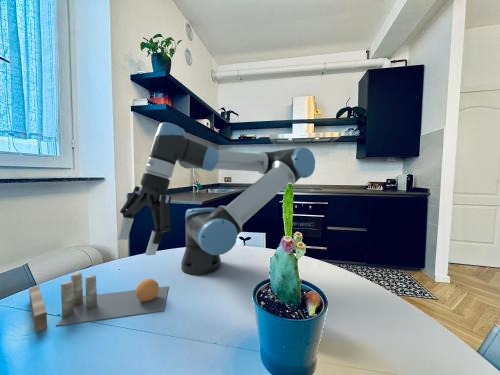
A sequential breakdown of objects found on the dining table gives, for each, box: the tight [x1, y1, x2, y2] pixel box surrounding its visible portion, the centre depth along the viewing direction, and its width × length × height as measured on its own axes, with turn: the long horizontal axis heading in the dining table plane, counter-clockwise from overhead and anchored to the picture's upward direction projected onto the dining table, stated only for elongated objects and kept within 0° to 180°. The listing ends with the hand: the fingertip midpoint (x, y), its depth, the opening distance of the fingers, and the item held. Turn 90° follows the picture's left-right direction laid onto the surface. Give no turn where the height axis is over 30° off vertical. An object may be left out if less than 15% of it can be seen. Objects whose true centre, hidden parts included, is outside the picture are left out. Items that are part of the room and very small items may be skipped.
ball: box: [135, 278, 160, 302], centre depth 64 cm, size 6×6×6 cm
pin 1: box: [60, 280, 74, 319], centre depth 57 cm, size 2×2×8 cm
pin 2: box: [70, 272, 84, 306], centre depth 62 cm, size 2×2×8 cm
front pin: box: [84, 274, 98, 309], centre depth 60 cm, size 2×2×8 cm
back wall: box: [28, 285, 48, 333], centre depth 57 cm, size 18×2×4 cm, turn 47°
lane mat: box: [55, 286, 169, 327], centre depth 62 cm, size 24×13×1 cm, turn 105°
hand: (135, 246), depth 64 cm, fingers open, 13 cm apart
